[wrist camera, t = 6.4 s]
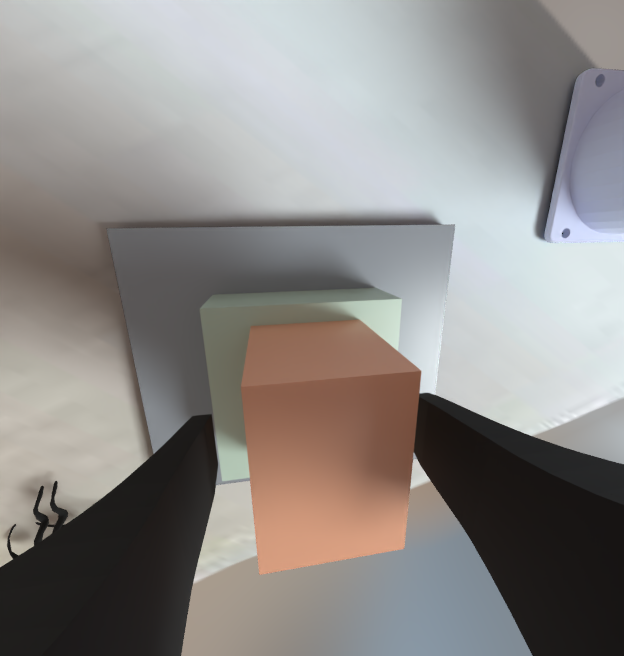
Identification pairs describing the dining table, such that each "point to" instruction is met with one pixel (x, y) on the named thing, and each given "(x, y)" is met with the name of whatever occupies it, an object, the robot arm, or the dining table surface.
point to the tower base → (261, 265)
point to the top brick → (327, 441)
